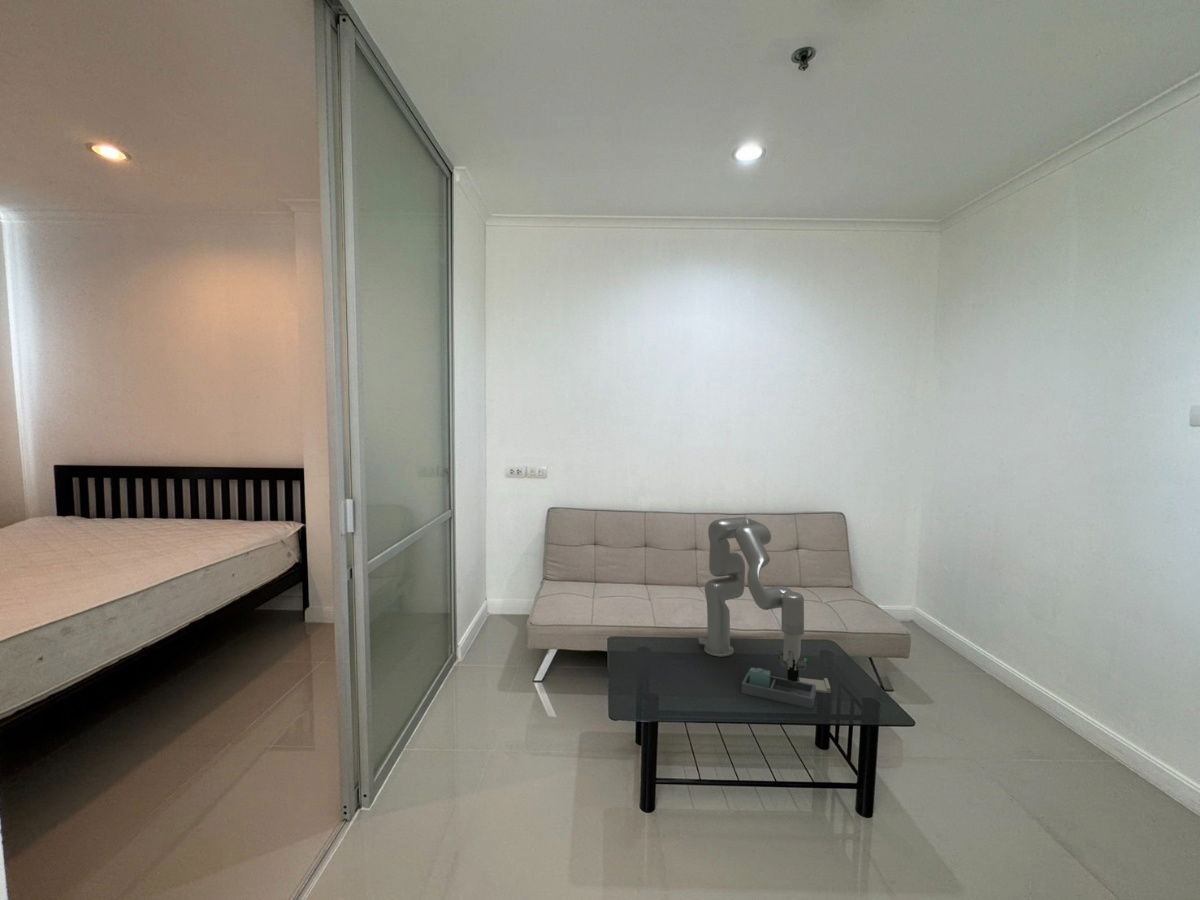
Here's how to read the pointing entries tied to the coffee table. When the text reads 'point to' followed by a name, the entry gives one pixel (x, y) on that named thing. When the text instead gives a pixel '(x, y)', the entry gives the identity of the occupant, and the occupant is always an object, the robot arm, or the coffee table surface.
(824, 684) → the lid plate
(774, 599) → the robot arm
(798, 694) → the housing
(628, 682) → the coffee table surface
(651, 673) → the coffee table surface
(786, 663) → the mechanical component
